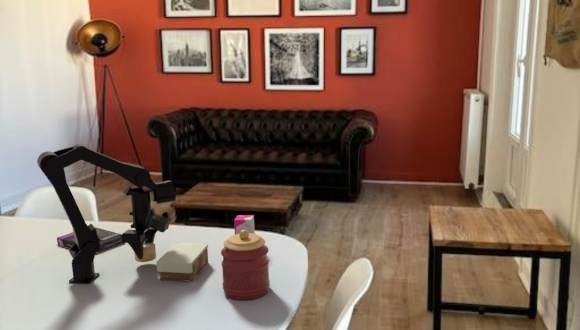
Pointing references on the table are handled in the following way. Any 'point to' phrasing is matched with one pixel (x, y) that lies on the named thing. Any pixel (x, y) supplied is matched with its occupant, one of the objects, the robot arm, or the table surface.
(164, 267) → the lid
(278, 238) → the table surface
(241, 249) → the canister
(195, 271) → the walnut box
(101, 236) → the box
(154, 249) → the dome push button
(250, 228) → the supplement box
